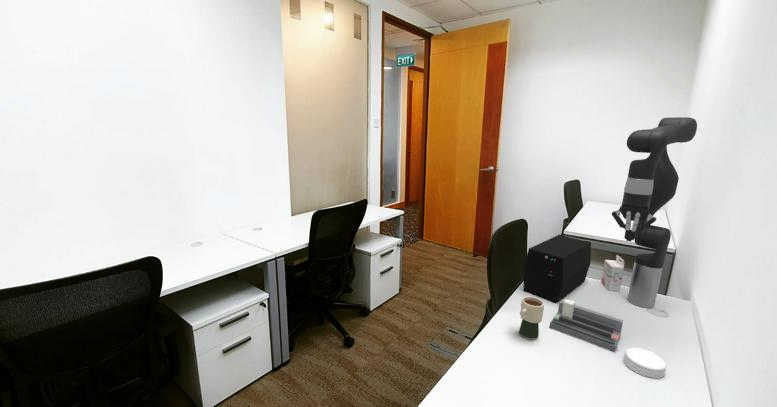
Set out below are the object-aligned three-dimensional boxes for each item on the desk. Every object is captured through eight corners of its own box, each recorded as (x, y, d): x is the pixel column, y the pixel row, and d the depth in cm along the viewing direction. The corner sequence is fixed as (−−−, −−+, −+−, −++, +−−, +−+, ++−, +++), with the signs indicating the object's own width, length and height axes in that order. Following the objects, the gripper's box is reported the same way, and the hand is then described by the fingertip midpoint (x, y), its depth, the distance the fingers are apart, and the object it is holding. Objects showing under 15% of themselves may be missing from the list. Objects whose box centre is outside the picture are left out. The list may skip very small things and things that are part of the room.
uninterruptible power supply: (587, 282, 158) (593, 242, 154) (557, 306, 136) (564, 260, 132) (551, 271, 170) (557, 233, 165) (519, 291, 148) (524, 248, 143)
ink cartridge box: (600, 282, 159) (605, 253, 155) (611, 283, 158) (617, 254, 154) (607, 290, 150) (613, 260, 147) (620, 292, 149) (626, 261, 146)
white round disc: (646, 356, 107) (649, 346, 106) (673, 379, 97) (675, 368, 96) (615, 356, 107) (617, 346, 106) (639, 379, 97) (641, 368, 96)
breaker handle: (563, 316, 124) (565, 298, 123) (572, 319, 123) (575, 301, 121) (561, 319, 122) (563, 301, 121) (570, 322, 120) (572, 304, 119)
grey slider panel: (558, 314, 130) (560, 300, 129) (620, 335, 117) (623, 320, 116) (549, 327, 121) (551, 312, 120) (614, 352, 108) (618, 335, 107)
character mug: (528, 325, 122) (533, 292, 119) (547, 335, 116) (552, 301, 113) (509, 335, 116) (513, 300, 113) (527, 346, 110) (532, 310, 107)
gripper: (663, 192, 111) (653, 242, 115) (616, 187, 119) (608, 234, 123) (662, 196, 105) (651, 248, 109) (612, 190, 114) (604, 238, 118)
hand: (628, 240), depth 116 cm, fingers closed
